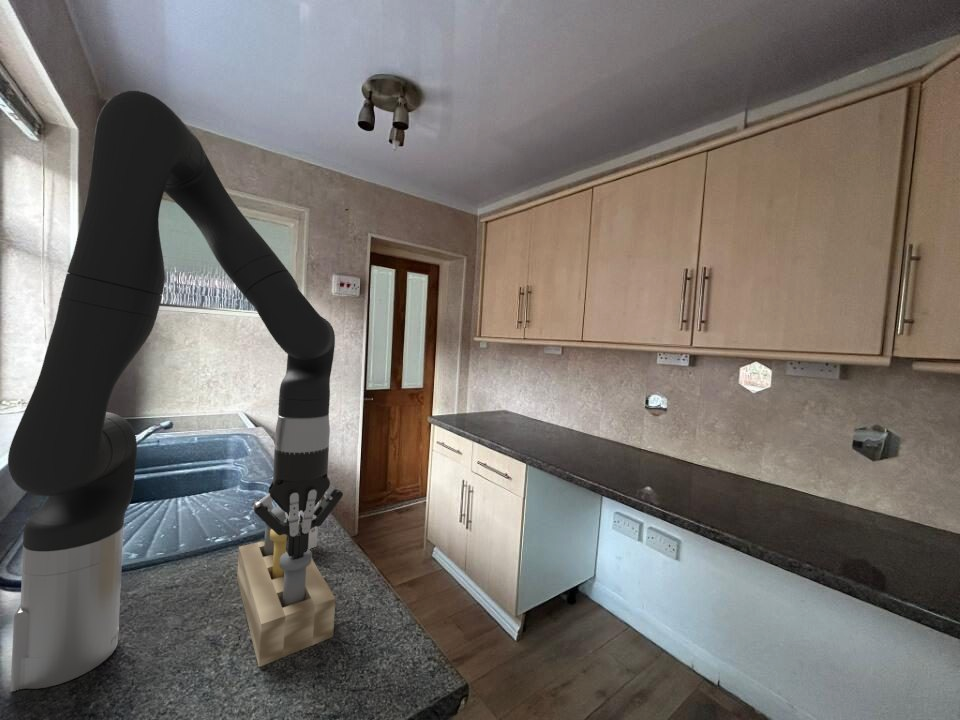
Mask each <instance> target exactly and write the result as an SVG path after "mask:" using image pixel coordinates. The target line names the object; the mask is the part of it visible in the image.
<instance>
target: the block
mask: <svg viewBox="0 0 960 720" xmlns="http://www.w3.org/2000/svg"><path fill="white" fill-rule="evenodd" d="M264 541H265V540H263V541H262V540H261V541H258V542H254V543H249V544H245V545H239V547H238V554H237V555H238V556H237V557H238V558H237V571H236V572H237V575H236V580H237V584H238V588H239V592H240V595H241V600H242V603H243V609H244V612H245V616H246V620H247V621H246V622H247V624H248V628H249V633H250V637H251V641H252V646H253V650H254V652H255V657H256V662H257V666H258V668H260V667H263V666H265V665H268V664H270V663H273V662H275V661H277V660H280V659H282V658H285V657H288V656H290V655H292V654H295V653H297V652H299V651H301V650H305V649H307V648H308V647H311V646H314V645H316V644H320V643H322V642H324V641H326V640H328V639H329V640H330V638H333V637H334V628H335V627H334V626H335V613H336V612H335V609H336V596H335V595H334V593H333V592H332V590H331V589H330V587H329V585H328V583H327V582H326V579H324V576H323V575H322V573H321V572H320V570H319V568H318V567H317V565H316V563H315V561H314V559H312V560H311V563H310V564H309V565H308V566H307V567H306V579H305V595H304V601H301V602H298V603H295V604H292V605H289V606H286V607H284V608H282V604H283V587H284V576H283V577H280V578H276V579H273V580H272V572H273V555H274V554H273V555H269V556H265V557H264Z"/></svg>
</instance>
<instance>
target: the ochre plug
mask: <svg viewBox="0 0 960 720" xmlns="http://www.w3.org/2000/svg"><path fill="white" fill-rule="evenodd" d="M286 537H287V535H286V534H283V535H278V534H277V533H275V532H274V531H273V530H272V529H271V530H270V539H271V540H272V541H274V555H273V572H272V580H273V579H276V578H280V577H283V576H284V570H283V569H281V568H280V557H281V556H282V555H283V554H284V553H285V552H287V551H286Z"/></svg>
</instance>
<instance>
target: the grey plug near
mask: <svg viewBox="0 0 960 720" xmlns="http://www.w3.org/2000/svg"><path fill="white" fill-rule="evenodd" d="M312 556H313V553H312V550H307V552H305V553H304V556H303V557H301V558H297V559H294V560H293V559H292V557H291V556H290V557H289V555H288V553H287V552H285V553H284V554H283V555H282V556H281V557H280V568H281V569H283V570H284V587H283V604H282V608H284V607H286V606H289V605H292V604H295V603H298V602H301V601H304V595H305V579H306V567H307V566H308V565H309V564H310V563H311V560H313V557H312Z"/></svg>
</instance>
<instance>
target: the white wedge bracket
mask: <svg viewBox="0 0 960 720" xmlns="http://www.w3.org/2000/svg"><path fill="white" fill-rule="evenodd" d="M319 504H320V501H319V502H318V503H317V505H316V506H315V507H314V511H315V510H316V508H317V507H318V506H319ZM298 521H299V520H298ZM318 530H319V527H316V526H315V527H314V528H312V529H311V530H310V531H309V540H308V549H311V548H313V547H316V546H318ZM311 550H312V549H311Z"/></svg>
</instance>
